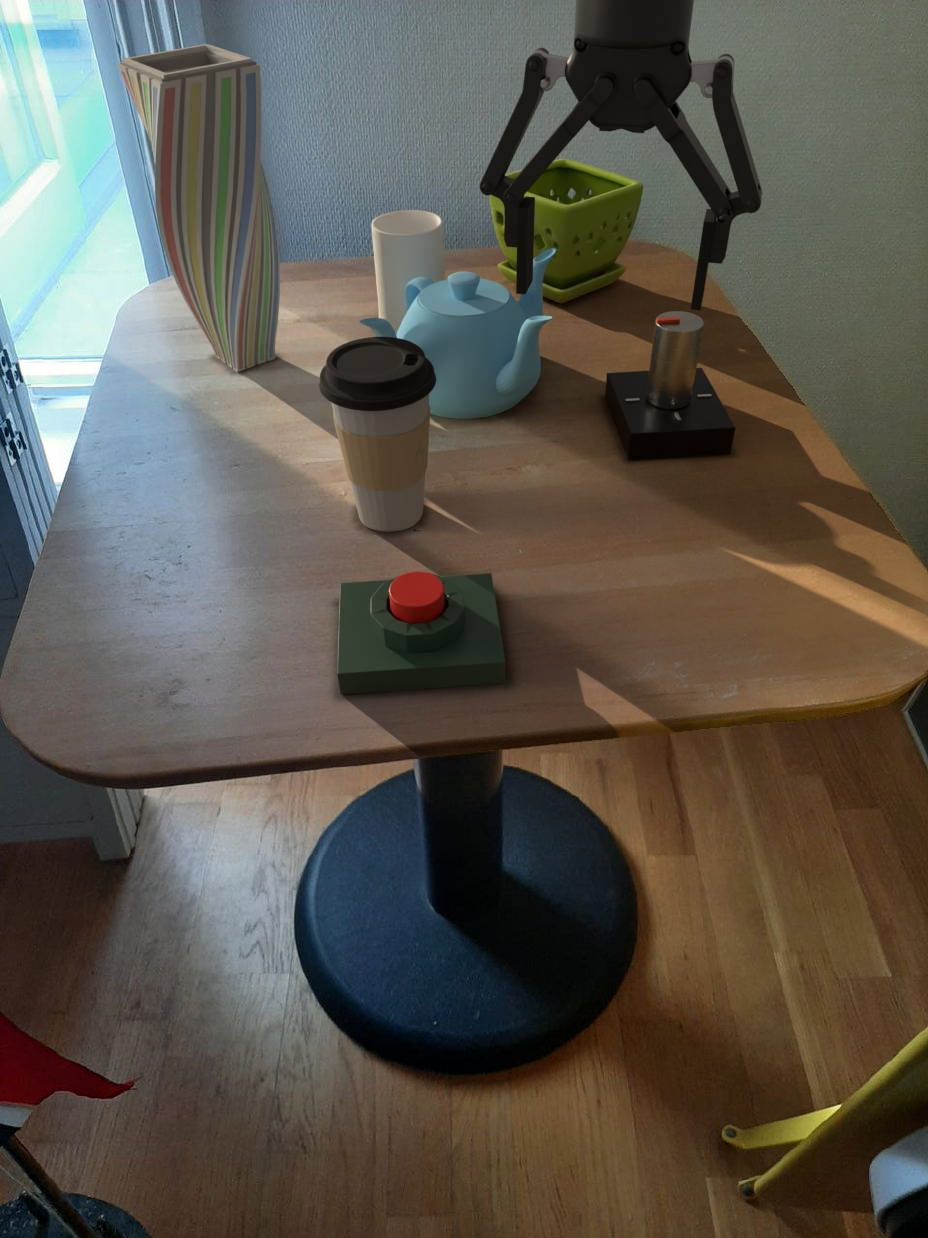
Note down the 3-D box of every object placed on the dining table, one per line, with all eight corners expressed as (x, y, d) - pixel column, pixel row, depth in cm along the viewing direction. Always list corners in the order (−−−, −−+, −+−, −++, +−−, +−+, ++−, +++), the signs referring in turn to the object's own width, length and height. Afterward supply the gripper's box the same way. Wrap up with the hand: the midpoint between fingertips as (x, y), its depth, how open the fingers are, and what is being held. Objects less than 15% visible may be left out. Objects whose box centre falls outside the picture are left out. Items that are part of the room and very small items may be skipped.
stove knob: (684, 385, 93) (696, 306, 87) (696, 408, 90) (709, 326, 84) (641, 388, 93) (651, 309, 87) (651, 410, 89) (662, 329, 84)
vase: (221, 399, 99) (150, 84, 79) (165, 355, 107) (88, 58, 86) (327, 359, 105) (287, 58, 85) (267, 321, 113) (217, 36, 93)
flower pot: (560, 316, 112) (566, 208, 104) (484, 282, 120) (483, 179, 111) (637, 283, 119) (648, 179, 110) (560, 253, 127) (565, 154, 118)
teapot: (553, 432, 93) (559, 315, 84) (369, 430, 94) (357, 315, 85) (550, 352, 105) (555, 244, 97) (388, 352, 106) (379, 244, 98)
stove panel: (730, 454, 89) (736, 425, 87) (628, 460, 89) (631, 432, 86) (697, 393, 98) (702, 365, 96) (604, 398, 97) (606, 371, 95)
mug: (359, 307, 115) (348, 207, 107) (421, 293, 118) (416, 195, 110) (393, 345, 107) (385, 241, 99) (460, 330, 110) (457, 227, 102)
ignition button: (446, 622, 67) (445, 604, 66) (391, 626, 67) (389, 608, 66) (442, 587, 70) (442, 569, 69) (390, 590, 70) (388, 572, 68)
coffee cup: (457, 529, 81) (452, 372, 71) (354, 555, 79) (334, 397, 68) (421, 474, 88) (412, 323, 77) (325, 496, 85) (302, 344, 75)
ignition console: (505, 683, 67) (505, 643, 65) (340, 695, 67) (334, 655, 64) (491, 593, 75) (491, 554, 72) (343, 603, 74) (337, 565, 71)
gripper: (431, -28, 58) (443, 299, 72) (847, -21, 53) (771, 330, 67) (462, -45, 63) (468, 263, 78) (843, -41, 58) (774, 289, 72)
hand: (609, 295), depth 72 cm, fingers open, 13 cm apart
